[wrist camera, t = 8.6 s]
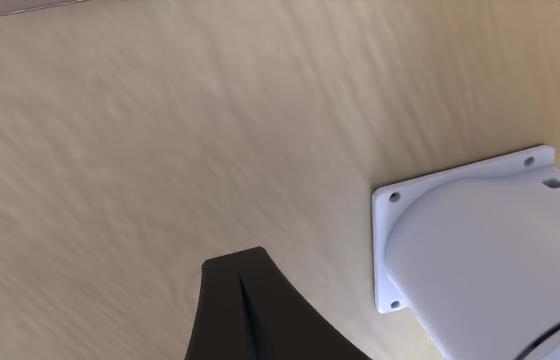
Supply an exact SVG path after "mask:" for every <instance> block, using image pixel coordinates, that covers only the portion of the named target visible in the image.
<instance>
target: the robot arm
mask: <svg viewBox="0 0 560 360" xmlns="http://www.w3.org/2000/svg"><path fill="white" fill-rule="evenodd" d="M527 158H528V159H527ZM526 159H527V160H526ZM554 159H555V149H554V148H552V147H551V146H549V145H541V146H537V147H534V148H530V149H526V150H522V151H518V152H514V153H511V154H507V155H503V156H499V157H495V158H492V159H488V160H484V161H480V162H476V163H472V164H469V165H465V166H461V167H457V168H453V169H449V170H446V171H442V172H438V173H434V174H430V175H426V176H423V177H419V178H415V179H411V180H407V181H404V182H400V183H396V184H392V185H388V186H384V187H381V188H379V189H377V190H376V191H375V192H374V193H373V195H372V222H373V251H374V281H375V306H376V308H377V310H378V311H379V312H380V313H388V312H391V311H395V310H398V309H401V308H405V307H408V306H409V307H410V308H411V310H412V311H413V313H414V314H415V316H416V317H417V318H418V320H419V321H420V323H421V324H422V326H423V327H424V329H425V330H426V332H427V333H428V335H429V336H430V338H431V339H432V340H433V342H434V343H435V345H436V346H437V348H438V349H439V351H440V352H441V354H442V355H443V357H444V358H445V360H560V169H559V168H557V167H556V166H554V165H553V164H554ZM525 160H526V161H525ZM393 193H396V195H395V196H394V197H392V198H390V196H391V195H392V194H393ZM185 360H372V359H371V358H370V357H368V356H367V355H366V354H364V353H363V352H362V351H361V350H359V349H358V348H357V347H356V346H355V345H353V344H352V343H351V342H350V341H349V340H348V339H346V338H345V337H344V336H343V335H342V334H341V333H340V332H339V331H338V330H336V329H335V328H334V327H333V326H332V325H331V324H330V323H329V322H328V321H327V320H326V319H325V318H323V317H322V316H321V315H320V314H319V313H318V312H317V311H316V310H315V309H314V308H313V307H312V306H311V304H310V303H309V302H308V301H307V300H306V299H305V298H304V297H303V296H302V295H301V294H300V293H299V292H298V291H297V290H296V289H295V287H294V286H293V285H292V284H291V283H290V282H289V281H288V279H287V278H286V277H285V276H284V275H283V273H282V272H281V271H280V270H279V268H278V267H277V266H276V264H275V263H274V262H273V260H272V259H271V258H270V256H269V255H268V253H267V251H266V250H265V249H264V248H262V247H260V246H259V247H255V248H251V249H247V250H243V251H239V252H235V253H231V254H227V255H224V256H220V257H216V258H212V259H208V260H205V262H204V263H203V264H202V278H201V288H200V295H199V301H198V307H197V312H196V317H195V321H194V325H193V330H192V334H191V339H190V342H189V346H188V349H187V353H186V356H185Z"/></svg>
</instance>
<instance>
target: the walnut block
mask: <svg viewBox="0 0 560 360" xmlns="http://www.w3.org/2000/svg"><path fill="white" fill-rule="evenodd" d="M84 1H89V0H0V16H5V15H11V14H16V13H22V12H27V11H33V10H39V9H44V8H50V7H56V6H61V5H67V4H73V3H78V2H84Z"/></svg>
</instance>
